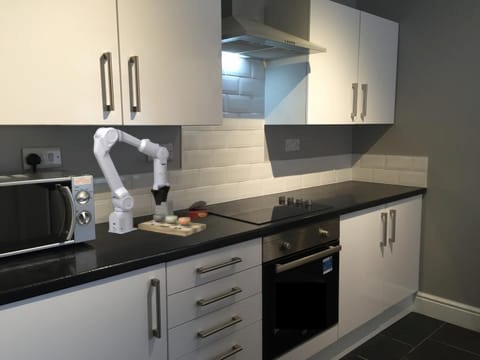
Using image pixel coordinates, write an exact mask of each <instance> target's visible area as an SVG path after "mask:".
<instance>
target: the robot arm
mask: <svg viewBox="0 0 480 360" xmlns="http://www.w3.org/2000/svg"><path fill="white" fill-rule="evenodd" d="M93 142H94V143H93V154H94V156H95V158H96V161H97V163H98V165H99V167H100V170H101V171H102V174H103V176H104V177H105V180H106V182H107V185H108V186H109V188H110V191H111V192H110V195H111V203H112V205H113V206H114V211H113V212H111V213H110V214H109V217H108V220H109V221H108V223H109V225H108V226H109V230H108V233H113V234H120V235H123V234H126V233H130V232H132V231H137V230H139V229H138V227H134V215H133V213H134V212H133V208H134V206H135V204H136V201H135V198H134V197H133V196H131V194H130V193H129V191H128V190H127V189H126V188H125V186H124V184H123V182H122V180H121V177H120V175H119V173H118V171H117V169H116V167H115V164H114V162H113V160H112V158H111V155H110V152H111V151H110V150H111V149H112V147H113V146H114V145H115V144H116V143H117V142H124V143H127V144H128V145H131V146H134V147H136V148H137V150H138V152H141V153H143V154H144V155H147V156H149V157H152V159H153V181H154V182H153V186H152V187H153V188H151V189H150V192H151V194H152V196H153V199H154V204H155V203H156V205H161V203H162V202H166V201H167V200H168V195H169V192H170V189H171V186H170V185H171V184H170V183H171V182H169V181H168V166H167V165H168V158H169V156H170V152H169V151H168V149H167V148H166V147H165V146H160V144H159V143H154V142H152V141H151V139H149V138H143V139H141V140H140V139H138V138H137V137H135V136H133V135H131V134H128V133H127V132H125V131H123V130H120V129H116V128H114V127H99V128H98V129H97V130H96V132H95V134H94V135H93Z"/></svg>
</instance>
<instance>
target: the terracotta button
mask: <svg viewBox="0 0 480 360" xmlns="http://www.w3.org/2000/svg"><path fill="white" fill-rule="evenodd" d="M178 221H179V224H190V223H192V222H191V218H190V217H188V216H185V217H184V216H183V217H182V216H181V217H178Z"/></svg>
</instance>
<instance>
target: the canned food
mask: <svg viewBox="0 0 480 360" xmlns="http://www.w3.org/2000/svg"><path fill="white" fill-rule="evenodd" d="M207 203H208V202H206V201H204V200H198V201H195V202H194V203H192V205H190V206H189V207H188V208H187V217H189V218H190V219H204V218H208V217H209V210H208V209H207V208H202V207H205V206H207Z"/></svg>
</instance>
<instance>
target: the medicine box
mask: <svg viewBox="0 0 480 360" xmlns="http://www.w3.org/2000/svg"><path fill="white" fill-rule="evenodd" d="M173 202H174V201H173V200H172V199H167V201H166V202H162V203H161V205H156V203H155V202H154V208H155V209H154V211H155V214H165V219H166V216H172V215H173V216H174V203H173ZM155 214H154V215H155Z"/></svg>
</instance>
